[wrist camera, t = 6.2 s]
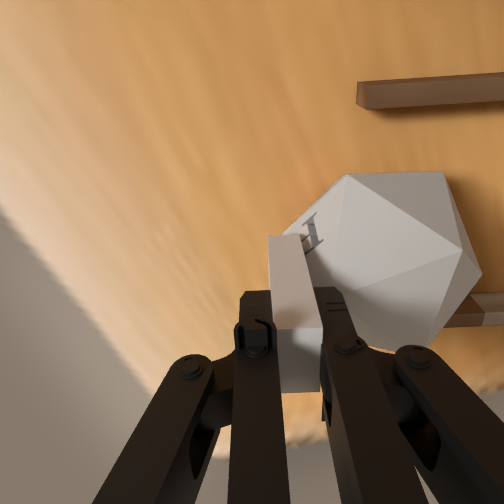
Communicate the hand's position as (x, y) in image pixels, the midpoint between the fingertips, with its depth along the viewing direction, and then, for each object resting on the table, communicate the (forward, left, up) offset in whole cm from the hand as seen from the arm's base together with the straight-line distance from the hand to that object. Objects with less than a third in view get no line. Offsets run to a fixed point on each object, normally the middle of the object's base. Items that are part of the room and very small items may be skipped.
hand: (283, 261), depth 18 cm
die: (+1, +5, -5) cm, 7 cm away
